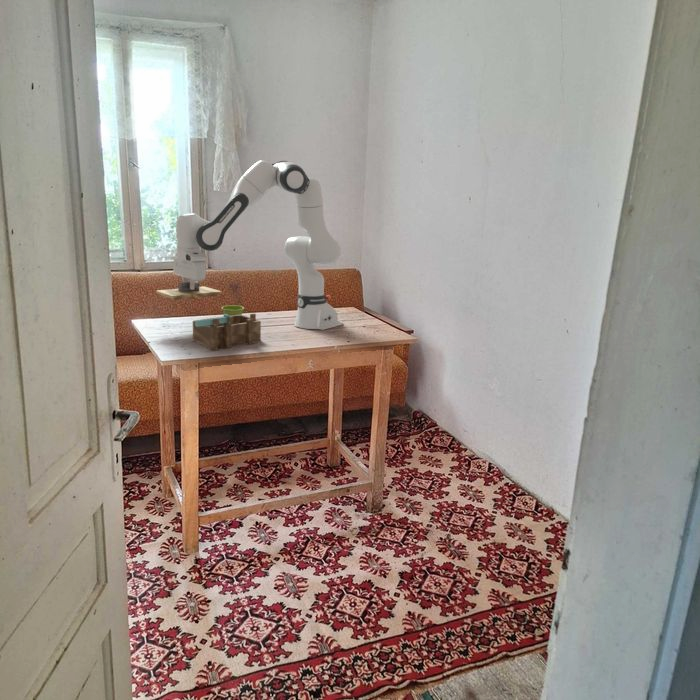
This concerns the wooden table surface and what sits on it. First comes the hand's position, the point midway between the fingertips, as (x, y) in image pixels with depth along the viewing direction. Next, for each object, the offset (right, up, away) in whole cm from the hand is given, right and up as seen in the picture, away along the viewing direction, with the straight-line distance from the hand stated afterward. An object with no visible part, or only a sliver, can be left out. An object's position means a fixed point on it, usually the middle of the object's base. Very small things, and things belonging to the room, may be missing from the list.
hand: (189, 288), depth 244 cm
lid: (+1, -3, 0) cm, 3 cm away
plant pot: (+15, -15, +14) cm, 26 cm away
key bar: (+15, -15, -24) cm, 32 cm away
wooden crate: (+18, -22, -9) cm, 30 cm away
